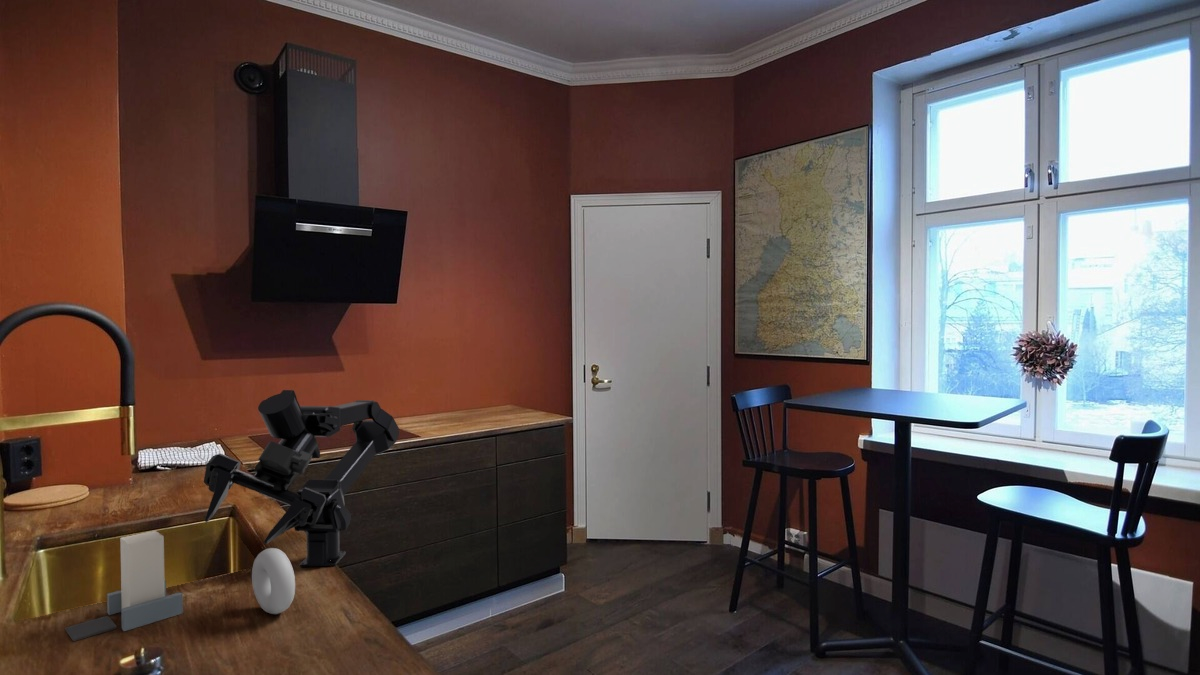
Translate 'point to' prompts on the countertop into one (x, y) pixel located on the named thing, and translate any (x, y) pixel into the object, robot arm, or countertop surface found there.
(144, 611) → the channel
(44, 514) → the countertop surface
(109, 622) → the mat
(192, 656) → the countertop surface
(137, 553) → the block
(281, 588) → the donut
